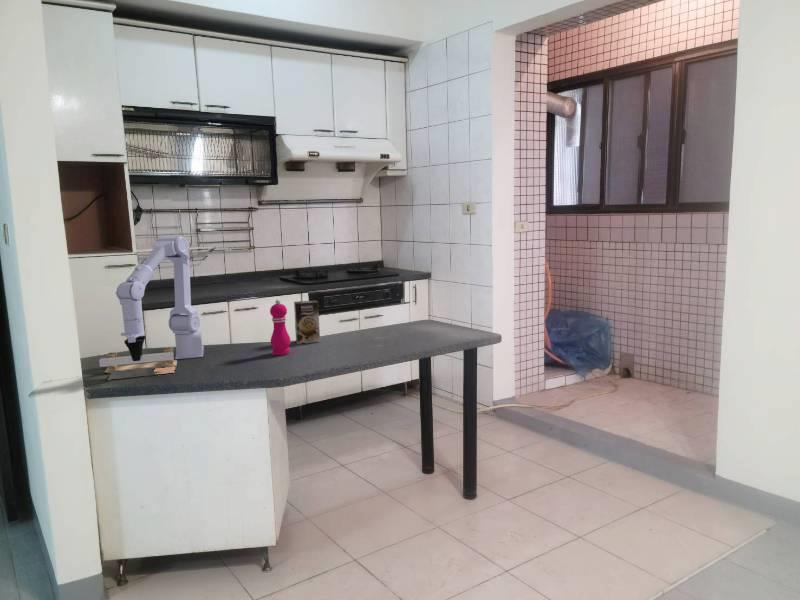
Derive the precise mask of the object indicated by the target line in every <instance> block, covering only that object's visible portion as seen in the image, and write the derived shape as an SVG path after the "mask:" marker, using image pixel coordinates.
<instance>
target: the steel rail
mask: <svg viewBox="0 0 800 600" xmlns="http://www.w3.org/2000/svg"><path fill="white" fill-rule="evenodd" d="M173 354H174V351H173V352H167V353H164V352H158V353H146V354H142V355H141V359H140V361H133V360H132V357H131V355H125V356H117V357H113V358H106V357H103V358H100V359H99V361H98V362H99V367H100V368H102V367H103V368H105V367H107V366H115V365H118V366H123V365H133V364H143V363H154V362H164V361H166V360H173V359H174V360H175V356H173Z"/></svg>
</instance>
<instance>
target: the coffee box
mask: <svg viewBox="0 0 800 600" xmlns="http://www.w3.org/2000/svg"><path fill="white" fill-rule="evenodd" d="M293 306H294V307H293V308H294V327H295V328H294V329H295V342H296V341H297V342H296V344H297V345H303V344H302V343H305V344H314V343H315V342H316V343H321V333H320V332H321V331H320V312H319V311H320V310H319V301H318V300H303V301H302V300H301V301H293Z"/></svg>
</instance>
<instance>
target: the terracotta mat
mask: <svg viewBox="0 0 800 600" xmlns="http://www.w3.org/2000/svg"><path fill="white" fill-rule="evenodd" d="M174 370H175V371H176V367H165V368H155V370H154V373H155V372H157V373H155V374H167V373H174V374H175V371H174ZM167 375H168V374H167Z"/></svg>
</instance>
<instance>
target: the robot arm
mask: <svg viewBox="0 0 800 600" xmlns="http://www.w3.org/2000/svg"><path fill="white" fill-rule="evenodd" d="M152 246H153V248H152V250H151V252H150V253H149V254H148V256H147V258H146V259H145V261H144V262H143V264H139V265H136V266H135V267H134V270H133V271H132V272H131V274H130V275H129V276H128V277H127V278H126V280H125V281H123V282H120V283H119V284H118V286H117V288H116V291H115V295H116V297H117V299H118V300H119V304H120V305H121V311H122V319H123V320H122V321H123V330H124V332H121V333H120V337H126V339H124V341H123V342H124V344H125V346H126V347H127V348H128V351H129V353H130V356H131V357H132V360H133V361H140V359H141V355H143V347H144V342H145V339H146V335H145V334H146V333H145V332H146V331H145V328H144V320H143V319H144V318H143V310H142V298H143V297H144V296H145V290H146V286H147V284H148V283H149V282H150V281H151V279H152V278H153V277H154V270H155V269H156V268H157V266H158V265H159V264H160V263H161V262H162V260H163V259H164V258H166V259H169V260H170V261H171V262H172V263H173V282H174V285H173V286H174V307H173V308H172V309H171V310H170V311H169V318H168V327H169V329H170V330H171V331H172V334H174V341H175V350H176V354H175V356H174V360H182V359H183V360H184V359H192V358H203V357H204V351H205V347H204V344H203V335H202V331H198V330H199V328H200V326H201V322H200V321H201V320H200V317H199V311H198V310H197V308H194V307H193V306H192V299H191V295H192V294H191V293H192V292H191V270H190V242H189V241H188V240H187V239H186V238H185V237H184V236H182V235H179V236H158V237H156V239H155V241H154V242H153V245H152Z"/></svg>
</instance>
